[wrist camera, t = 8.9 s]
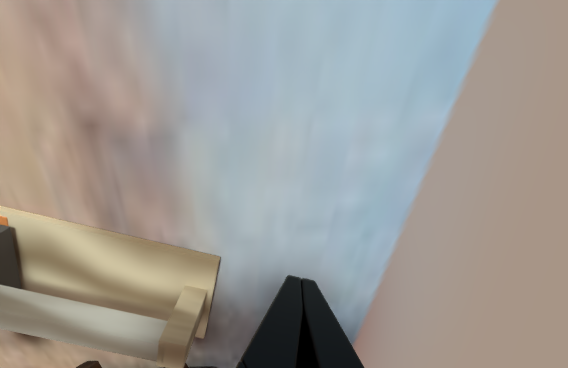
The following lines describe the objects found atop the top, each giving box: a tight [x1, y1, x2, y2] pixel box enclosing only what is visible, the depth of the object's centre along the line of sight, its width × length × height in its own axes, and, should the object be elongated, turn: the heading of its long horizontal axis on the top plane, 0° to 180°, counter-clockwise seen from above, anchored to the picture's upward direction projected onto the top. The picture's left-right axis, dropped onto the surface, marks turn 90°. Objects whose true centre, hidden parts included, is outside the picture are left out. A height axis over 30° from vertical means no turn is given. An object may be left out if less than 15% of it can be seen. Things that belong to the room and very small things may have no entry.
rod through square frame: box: [0, 206, 220, 368], centre depth 24 cm, size 10×26×6 cm, turn 76°
